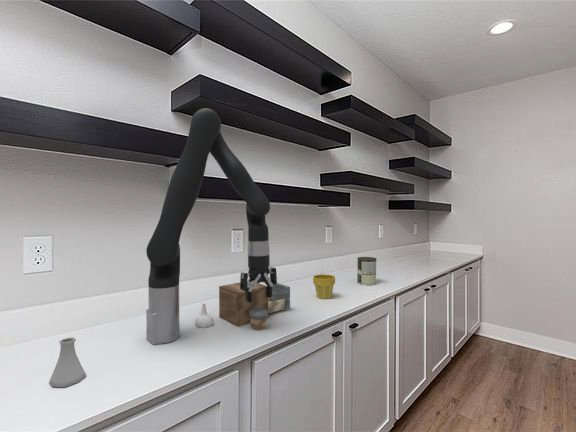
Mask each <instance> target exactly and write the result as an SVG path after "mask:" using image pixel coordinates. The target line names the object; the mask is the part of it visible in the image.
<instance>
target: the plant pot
mask: <svg viewBox="0 0 576 432" xmlns="http://www.w3.org/2000/svg"><path fill="white" fill-rule="evenodd" d="M312 283H313V285H314V287H315V292H316V297H317V298H318V299H322V300H323V299H324V300H326V299H331V298H332V296H333V290H334V285H335V284H336V276H335V275H331V274H325V273H324V274H315V275H313V276H312Z"/></svg>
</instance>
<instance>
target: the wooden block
mask: <svg viewBox="0 0 576 432" xmlns="http://www.w3.org/2000/svg"><path fill="white" fill-rule="evenodd" d="M267 319H268V318H265V319H261V320H255V319H251V323H250V328H251V329H253V330H255V331H257V332H258V331H261V330H264V329H267V326H268V325H267V322H268V321H267Z"/></svg>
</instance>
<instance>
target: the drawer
mask: <svg viewBox="0 0 576 432" xmlns="http://www.w3.org/2000/svg"><path fill="white" fill-rule="evenodd" d="M284 309H285V310H290V309H291V286H290V285H286V284H285V285H284V284H282V283H278V282H277V284H274V285H273V287H272V297H270V298H269V297H268V314H271V313H274V312H278V311H281V310H282V311H283V310H284Z"/></svg>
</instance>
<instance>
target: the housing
mask: <svg viewBox="0 0 576 432" xmlns="http://www.w3.org/2000/svg"><path fill="white" fill-rule="evenodd" d="M247 282H248V280H247ZM266 286H267V285H266V284H262V283H256V285H255V286H254V287H253V289H252V291H251V292H252V302H251V303H249V302H247V301H246V294H245V291H243V290H241V289H240V282H236V283H235V282H234V283H231V284H224V285H219V286H218V291H219V292H218V293H219V294H218V299H219V300H218V305H219V309H218V314H219V315H218V317H219V318H220V319H221V320H223V321H226V322H228V323H230V324H232V325H234V326H235V327H241V326H244V325H247V324H251V318H250V317H249V311H250V310H251V309H254V308H265V309H267V310H268V297H267V296H266ZM268 318H269V316H268V317H267V319H268Z"/></svg>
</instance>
